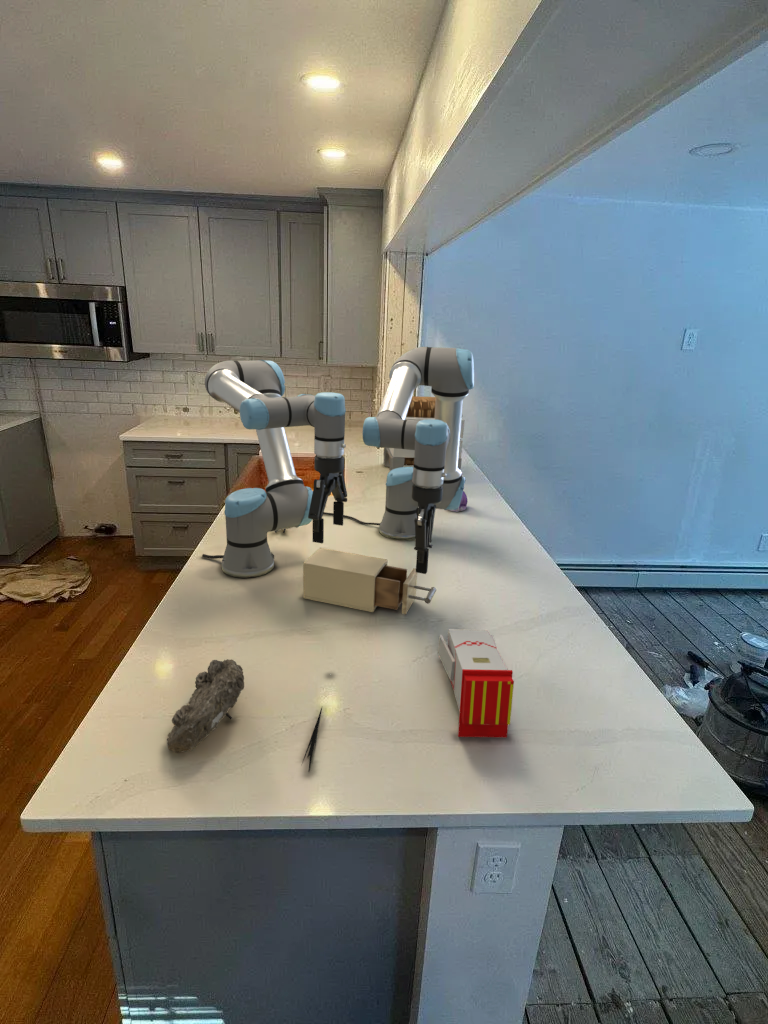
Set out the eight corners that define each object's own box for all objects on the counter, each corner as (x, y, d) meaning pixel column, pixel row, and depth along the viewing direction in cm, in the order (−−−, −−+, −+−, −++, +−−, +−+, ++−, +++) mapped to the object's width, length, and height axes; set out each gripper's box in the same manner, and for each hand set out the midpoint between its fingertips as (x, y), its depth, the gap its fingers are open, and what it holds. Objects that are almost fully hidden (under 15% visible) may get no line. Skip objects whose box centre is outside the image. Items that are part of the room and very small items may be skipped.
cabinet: (385, 593, 158) (387, 559, 154) (373, 612, 148) (374, 575, 144) (319, 581, 163) (320, 547, 160) (303, 598, 153) (303, 562, 150)
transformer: (382, 463, 289) (386, 382, 275) (445, 464, 293) (451, 384, 279) (390, 482, 257) (394, 392, 243) (460, 483, 261) (468, 394, 247)
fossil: (192, 660, 117) (244, 628, 112) (224, 691, 120) (276, 661, 115) (142, 746, 98) (202, 712, 93) (182, 779, 101) (242, 748, 96)
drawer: (436, 601, 153) (438, 572, 150) (427, 619, 144) (430, 588, 141) (351, 585, 160) (351, 557, 157) (338, 600, 151) (338, 571, 148)
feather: (331, 679, 122) (336, 673, 122) (307, 777, 96) (313, 769, 95) (324, 675, 122) (329, 669, 121) (298, 772, 95) (304, 764, 95)
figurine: (454, 513, 222) (457, 476, 217) (439, 505, 230) (442, 470, 225) (473, 510, 226) (477, 474, 221) (459, 503, 234) (462, 468, 229)
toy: (488, 613, 130) (523, 677, 101) (484, 667, 133) (517, 744, 104) (435, 612, 130) (455, 676, 101) (432, 666, 133) (451, 743, 103)
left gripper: (323, 469, 131) (322, 552, 138) (360, 446, 154) (358, 519, 161) (293, 465, 133) (294, 548, 141) (334, 443, 156) (333, 516, 163)
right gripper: (436, 494, 131) (429, 585, 139) (448, 479, 143) (441, 564, 151) (405, 489, 133) (400, 580, 141) (419, 475, 145) (413, 559, 153)
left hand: (328, 533), depth 151 cm, fingers open, 13 cm apart
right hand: (421, 572), depth 146 cm, fingers closed
